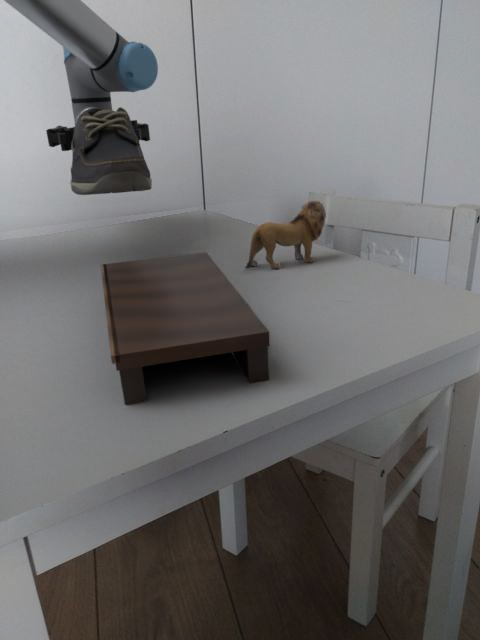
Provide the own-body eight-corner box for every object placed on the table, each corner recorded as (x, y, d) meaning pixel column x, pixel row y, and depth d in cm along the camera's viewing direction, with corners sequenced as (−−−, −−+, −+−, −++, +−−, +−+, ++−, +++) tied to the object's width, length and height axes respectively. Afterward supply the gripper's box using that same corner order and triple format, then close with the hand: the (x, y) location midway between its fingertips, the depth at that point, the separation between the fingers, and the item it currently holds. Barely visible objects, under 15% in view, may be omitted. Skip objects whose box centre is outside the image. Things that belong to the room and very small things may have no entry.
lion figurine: (313, 251, 95) (313, 196, 91) (333, 258, 91) (334, 201, 87) (237, 268, 88) (233, 209, 85) (255, 276, 84) (252, 215, 80)
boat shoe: (83, 207, 70) (67, 112, 65) (57, 179, 94) (45, 108, 90) (169, 197, 74) (160, 107, 69) (123, 173, 98) (114, 105, 94)
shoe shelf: (106, 300, 77) (100, 264, 75) (209, 286, 81) (206, 252, 79) (119, 406, 51) (110, 355, 49) (271, 379, 55) (269, 331, 52)
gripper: (157, 147, 109) (175, 159, 89) (39, 155, 104) (31, 170, 84) (152, 105, 106) (169, 107, 86) (31, 111, 101) (19, 115, 81)
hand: (101, 138), depth 85 cm, fingers closed on boat shoe, 9 cm apart
